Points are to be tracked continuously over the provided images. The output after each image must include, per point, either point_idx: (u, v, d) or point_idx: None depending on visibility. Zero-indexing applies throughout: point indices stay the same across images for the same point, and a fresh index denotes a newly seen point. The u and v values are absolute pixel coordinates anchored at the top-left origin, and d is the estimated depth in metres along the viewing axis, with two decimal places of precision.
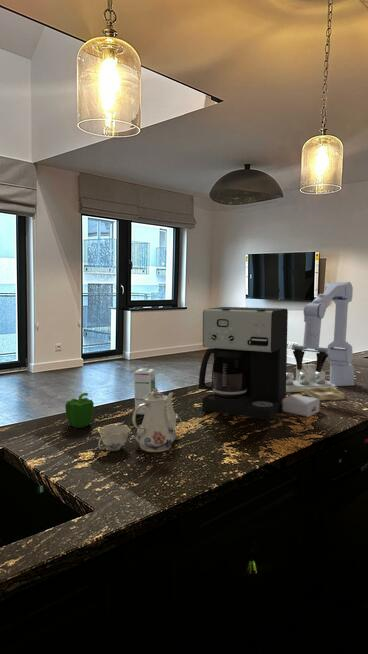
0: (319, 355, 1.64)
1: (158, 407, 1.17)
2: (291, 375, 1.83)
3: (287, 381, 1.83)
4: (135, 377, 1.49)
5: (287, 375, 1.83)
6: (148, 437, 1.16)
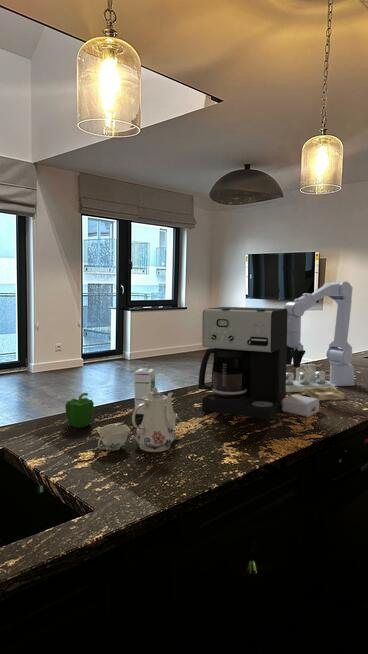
0: (292, 352, 1.75)
1: (158, 407, 1.17)
2: (291, 375, 1.83)
3: (287, 381, 1.83)
4: (135, 377, 1.49)
5: (287, 375, 1.83)
6: (147, 437, 1.16)
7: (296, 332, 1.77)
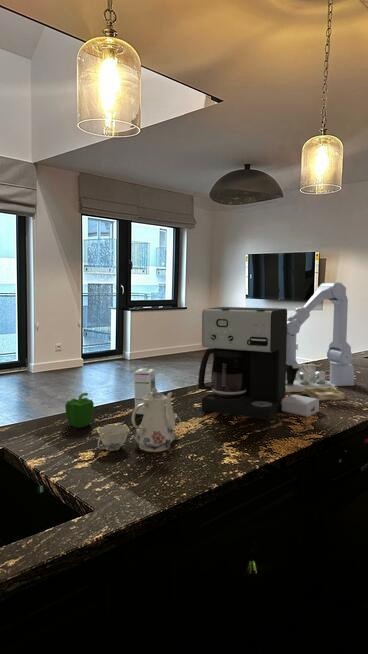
0: None
1: (157, 407, 1.17)
2: None
3: None
4: (135, 377, 1.49)
5: None
6: (147, 437, 1.16)
7: (291, 350, 1.81)
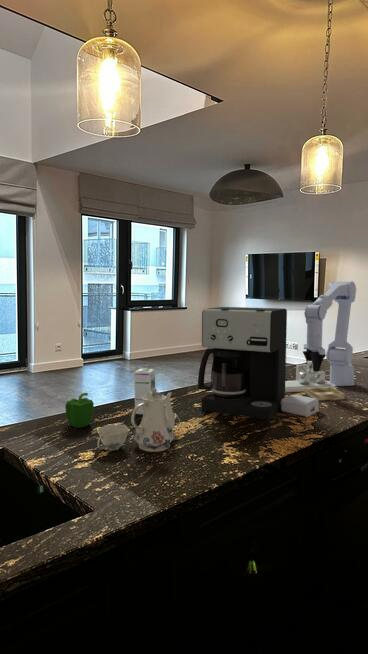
0: (311, 355, 1.72)
1: (157, 407, 1.17)
2: None
3: (312, 369, 1.74)
4: (135, 377, 1.49)
5: (312, 363, 1.74)
6: (146, 437, 1.16)
7: (318, 336, 1.72)
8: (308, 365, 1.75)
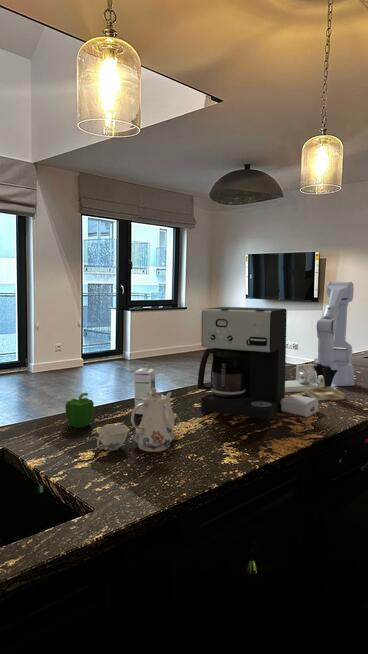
0: (323, 371, 1.69)
1: (157, 407, 1.17)
2: None
3: (323, 384, 1.71)
4: (135, 377, 1.49)
5: (323, 378, 1.71)
6: (146, 437, 1.16)
7: (329, 350, 1.69)
8: (319, 380, 1.72)
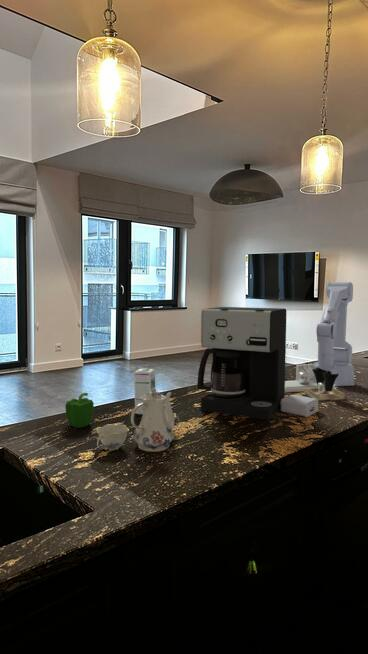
0: (324, 375, 1.68)
1: (156, 407, 1.17)
2: None
3: (323, 391, 1.72)
4: (135, 377, 1.49)
5: (322, 385, 1.71)
6: (146, 437, 1.16)
7: (329, 354, 1.69)
8: (319, 387, 1.73)
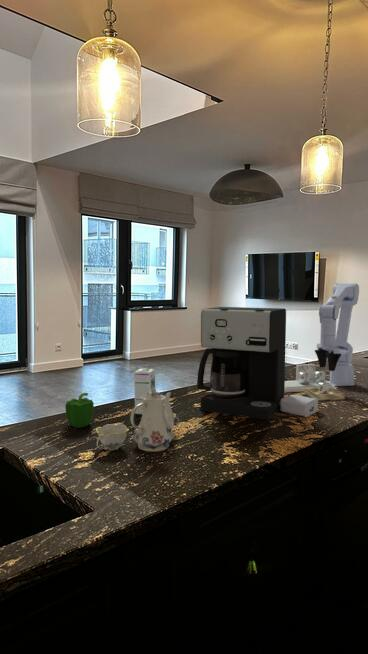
0: (327, 355, 1.74)
1: (156, 407, 1.17)
2: (327, 385, 1.71)
3: (322, 391, 1.72)
4: (135, 377, 1.49)
5: (322, 385, 1.71)
6: (146, 437, 1.16)
7: (331, 335, 1.75)
8: (319, 387, 1.73)
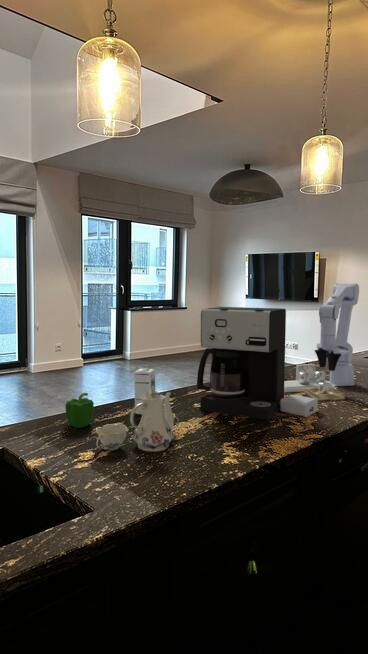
0: (327, 355, 1.74)
1: (156, 407, 1.17)
2: (327, 385, 1.71)
3: (322, 391, 1.72)
4: (135, 377, 1.49)
5: (322, 385, 1.71)
6: (145, 437, 1.16)
7: (331, 335, 1.75)
8: (319, 387, 1.73)
